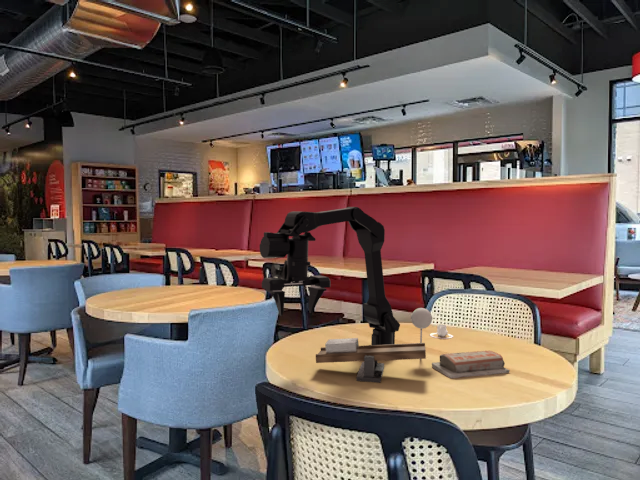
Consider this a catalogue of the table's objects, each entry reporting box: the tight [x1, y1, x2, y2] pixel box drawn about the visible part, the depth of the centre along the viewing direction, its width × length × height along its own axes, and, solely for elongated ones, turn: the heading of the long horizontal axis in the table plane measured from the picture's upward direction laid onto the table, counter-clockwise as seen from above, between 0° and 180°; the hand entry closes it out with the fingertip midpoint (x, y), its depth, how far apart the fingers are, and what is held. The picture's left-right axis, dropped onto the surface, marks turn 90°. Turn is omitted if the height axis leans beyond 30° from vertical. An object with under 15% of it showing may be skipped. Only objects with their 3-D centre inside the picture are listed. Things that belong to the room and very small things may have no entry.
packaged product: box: [431, 350, 511, 379], centre depth 135 cm, size 18×5×10 cm
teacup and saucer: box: [429, 323, 454, 340], centre depth 173 cm, size 9×8×4 cm
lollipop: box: [410, 307, 433, 361], centre depth 144 cm, size 6×6×15 cm
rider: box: [325, 337, 360, 354], centre depth 132 cm, size 8×5×3 cm, turn 79°
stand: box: [356, 355, 385, 383], centre depth 131 cm, size 6×13×6 cm, turn 169°
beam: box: [315, 342, 427, 364], centre depth 131 cm, size 28×8×2 cm, turn 79°
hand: (296, 314), depth 137 cm, fingers open, 9 cm apart
